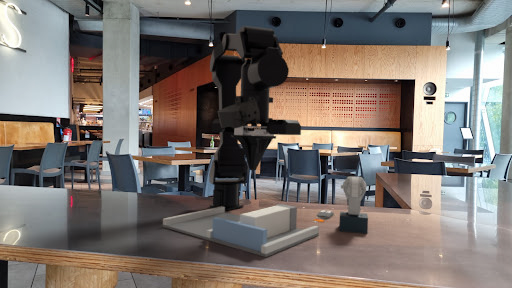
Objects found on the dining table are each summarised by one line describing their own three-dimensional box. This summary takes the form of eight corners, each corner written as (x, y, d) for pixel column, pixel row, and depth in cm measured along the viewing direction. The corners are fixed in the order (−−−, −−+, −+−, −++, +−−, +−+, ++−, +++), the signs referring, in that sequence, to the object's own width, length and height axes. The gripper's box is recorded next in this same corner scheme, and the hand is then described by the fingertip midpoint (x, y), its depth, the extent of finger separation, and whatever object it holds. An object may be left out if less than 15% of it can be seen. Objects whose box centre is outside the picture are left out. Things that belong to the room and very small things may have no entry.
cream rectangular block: (279, 225, 78) (280, 204, 78) (296, 228, 75) (296, 206, 75) (238, 238, 68) (239, 214, 68) (255, 243, 65) (256, 217, 65)
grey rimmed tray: (221, 213, 89) (221, 196, 89) (318, 235, 73) (319, 214, 73) (162, 226, 76) (163, 207, 76) (265, 257, 60) (266, 232, 59)
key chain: (319, 214, 93) (319, 209, 93) (334, 216, 92) (334, 210, 91) (305, 226, 81) (305, 220, 81) (322, 229, 80) (322, 222, 80)
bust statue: (366, 225, 81) (368, 175, 81) (367, 235, 73) (370, 179, 73) (339, 223, 83) (341, 173, 82) (338, 233, 75) (340, 178, 74)
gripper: (192, 89, 74) (190, 168, 75) (268, 84, 62) (265, 178, 63) (230, 94, 83) (229, 165, 83) (303, 91, 71) (301, 173, 72)
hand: (252, 170), depth 75 cm, fingers closed
